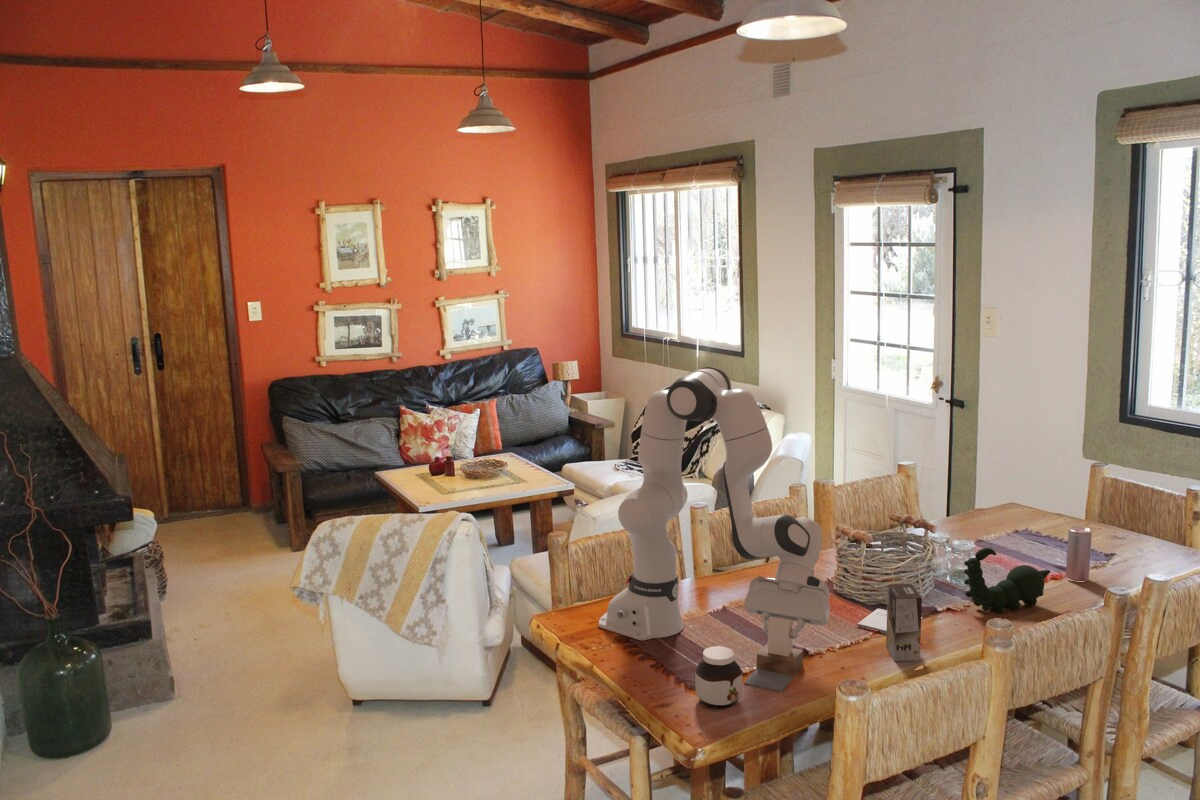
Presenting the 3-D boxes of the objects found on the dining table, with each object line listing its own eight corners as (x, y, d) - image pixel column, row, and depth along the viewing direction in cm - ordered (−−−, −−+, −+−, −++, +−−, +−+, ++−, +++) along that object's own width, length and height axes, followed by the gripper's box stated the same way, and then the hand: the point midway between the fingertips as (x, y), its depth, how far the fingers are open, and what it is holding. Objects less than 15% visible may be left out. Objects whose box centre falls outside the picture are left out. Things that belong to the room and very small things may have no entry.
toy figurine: (980, 626, 266) (1062, 605, 272) (977, 558, 262) (1061, 539, 268) (959, 612, 275) (1039, 593, 281) (956, 546, 271) (1037, 528, 276)
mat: (744, 684, 235) (744, 682, 235) (756, 670, 242) (756, 668, 242) (781, 692, 230) (781, 690, 230) (793, 677, 237) (793, 676, 237)
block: (767, 652, 242) (767, 621, 240) (772, 647, 244) (772, 616, 243) (787, 656, 239) (788, 624, 238) (792, 651, 242) (792, 620, 240)
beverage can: (1062, 575, 294) (1065, 526, 291) (1084, 576, 293) (1087, 526, 290) (1069, 583, 288) (1072, 532, 285) (1091, 583, 288) (1094, 533, 285)
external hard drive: (856, 629, 264) (876, 613, 273) (886, 636, 259) (906, 620, 268) (856, 623, 264) (877, 607, 273) (887, 630, 259) (906, 614, 268)
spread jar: (708, 714, 222) (708, 664, 220) (682, 692, 232) (681, 644, 230) (754, 701, 227) (754, 652, 225) (727, 680, 237) (727, 633, 235)
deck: (756, 670, 242) (756, 654, 241) (767, 658, 248) (767, 643, 247) (793, 677, 237) (793, 661, 236) (802, 665, 243) (803, 649, 242)
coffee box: (921, 661, 244) (923, 598, 240) (894, 661, 244) (895, 598, 241) (910, 644, 253) (912, 583, 249) (884, 645, 253) (886, 584, 250)
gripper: (749, 569, 249) (734, 622, 243) (831, 582, 239) (817, 637, 233) (755, 581, 254) (741, 632, 248) (836, 594, 244) (823, 648, 238)
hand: (779, 635), depth 240 cm, fingers closed on block, 5 cm apart
